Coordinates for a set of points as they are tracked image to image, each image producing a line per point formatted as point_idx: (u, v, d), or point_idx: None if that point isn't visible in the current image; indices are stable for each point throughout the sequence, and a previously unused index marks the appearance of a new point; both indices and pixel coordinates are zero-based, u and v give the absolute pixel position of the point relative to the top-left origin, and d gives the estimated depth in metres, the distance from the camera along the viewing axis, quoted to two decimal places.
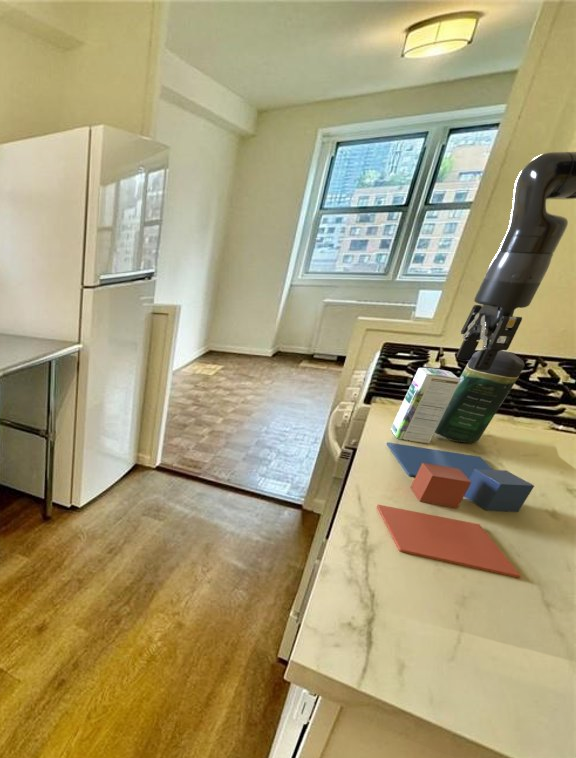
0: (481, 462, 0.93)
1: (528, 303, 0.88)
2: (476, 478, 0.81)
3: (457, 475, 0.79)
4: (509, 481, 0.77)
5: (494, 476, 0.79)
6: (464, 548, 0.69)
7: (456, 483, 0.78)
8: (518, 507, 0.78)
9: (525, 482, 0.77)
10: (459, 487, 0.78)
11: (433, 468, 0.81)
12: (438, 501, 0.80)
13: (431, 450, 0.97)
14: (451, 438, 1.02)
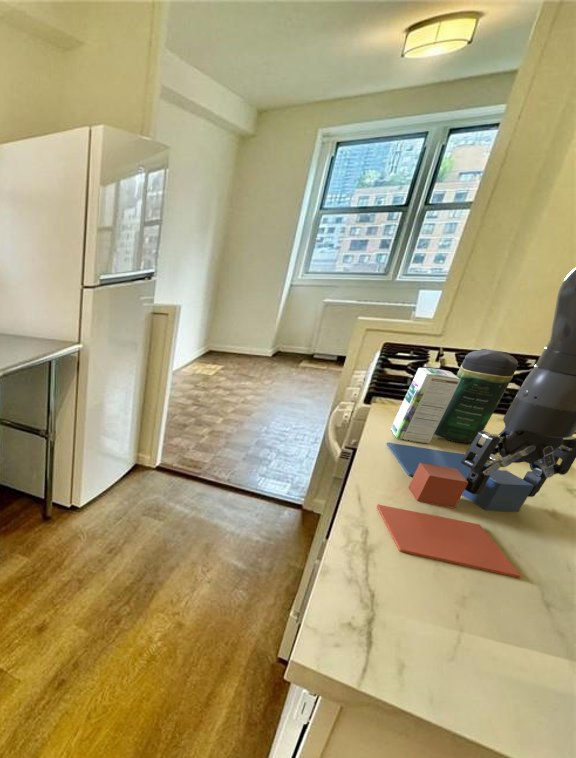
0: None
1: (540, 430, 0.71)
2: None
3: (454, 475, 0.79)
4: (509, 481, 0.77)
5: (494, 476, 0.79)
6: (464, 548, 0.69)
7: (453, 483, 0.78)
8: (518, 507, 0.78)
9: (525, 482, 0.77)
10: (456, 487, 0.78)
11: (431, 468, 0.81)
12: (435, 501, 0.80)
13: (431, 450, 0.97)
14: (450, 439, 1.02)
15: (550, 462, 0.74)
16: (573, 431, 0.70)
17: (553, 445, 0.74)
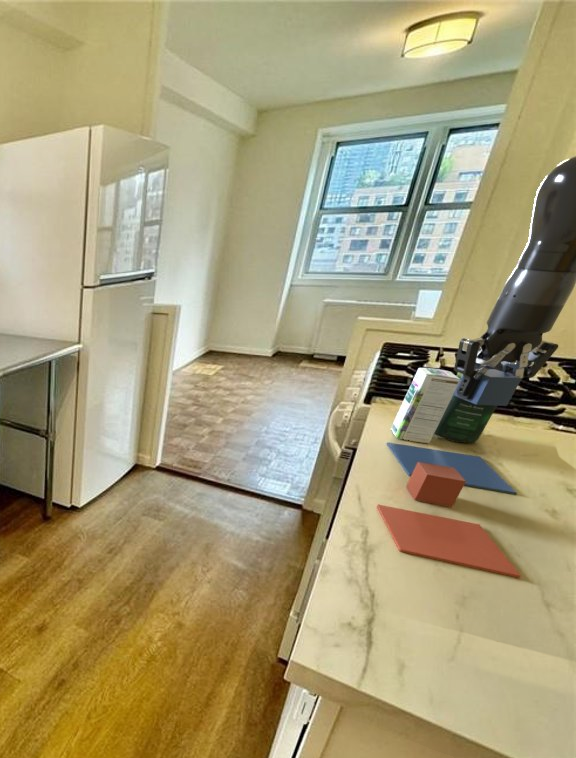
0: (481, 462, 0.93)
1: (518, 327, 0.77)
2: None
3: (452, 474, 0.79)
4: (498, 375, 0.82)
5: None
6: (464, 548, 0.69)
7: (450, 482, 0.78)
8: (506, 401, 0.83)
9: (513, 376, 0.82)
10: (454, 486, 0.78)
11: (428, 468, 0.81)
12: (433, 500, 0.80)
13: (431, 450, 0.97)
14: (450, 439, 1.02)
15: (524, 362, 0.80)
16: (550, 326, 0.76)
17: (533, 344, 0.80)
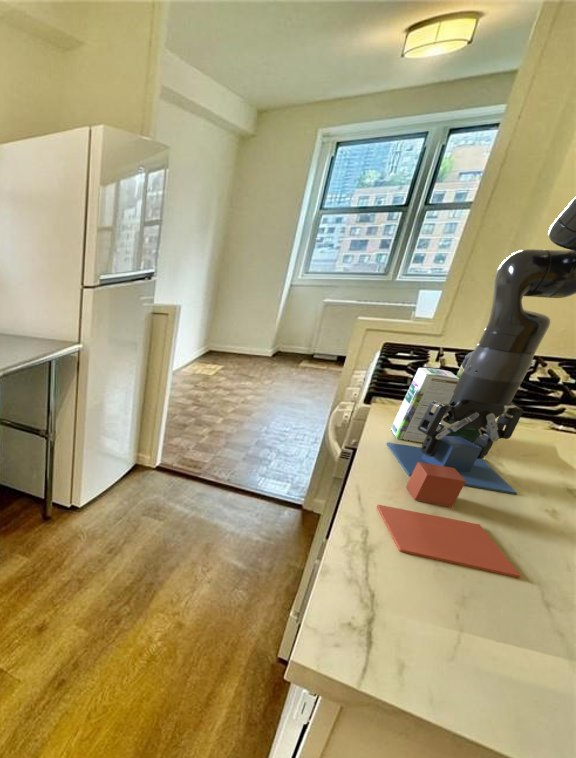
0: (481, 462, 0.93)
1: (480, 399, 0.83)
2: None
3: (452, 474, 0.79)
4: (461, 444, 0.88)
5: (448, 440, 0.90)
6: (464, 548, 0.69)
7: (450, 482, 0.78)
8: (469, 467, 0.89)
9: (474, 445, 0.88)
10: (454, 486, 0.78)
11: (428, 468, 0.81)
12: (433, 500, 0.80)
13: None
14: None
15: (494, 427, 0.86)
16: (509, 399, 0.82)
17: (496, 413, 0.86)
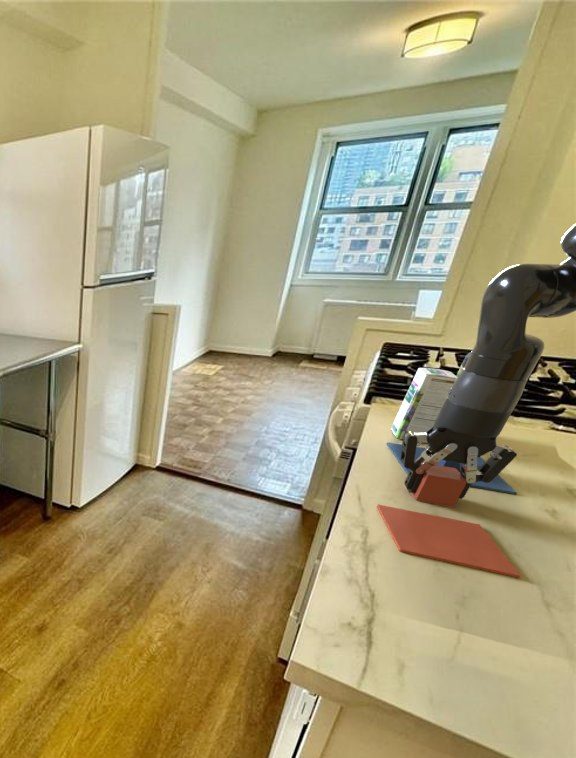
0: (481, 462, 0.93)
1: (454, 428, 0.75)
2: None
3: (453, 474, 0.79)
4: None
5: None
6: (464, 548, 0.69)
7: (452, 482, 0.78)
8: None
9: None
10: (455, 487, 0.78)
11: (430, 468, 0.81)
12: (434, 500, 0.80)
13: None
14: None
15: (473, 465, 0.77)
16: (490, 432, 0.73)
17: (483, 448, 0.76)
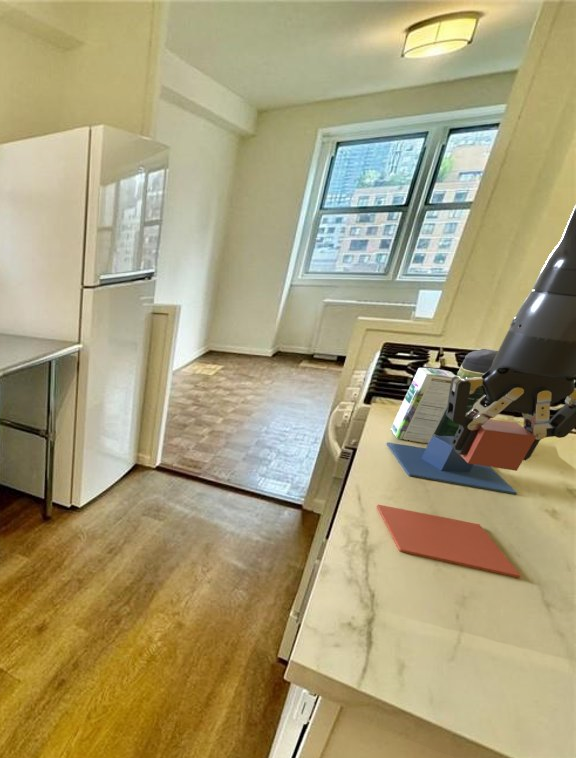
0: None
1: (521, 366, 0.59)
2: (433, 443, 0.92)
3: (516, 429, 0.63)
4: None
5: (448, 440, 0.90)
6: (464, 548, 0.69)
7: (516, 439, 0.62)
8: (469, 467, 0.89)
9: None
10: (520, 444, 0.62)
11: (485, 422, 0.65)
12: (492, 462, 0.64)
13: None
14: None
15: (543, 416, 0.60)
16: (570, 369, 0.56)
17: (558, 392, 0.59)
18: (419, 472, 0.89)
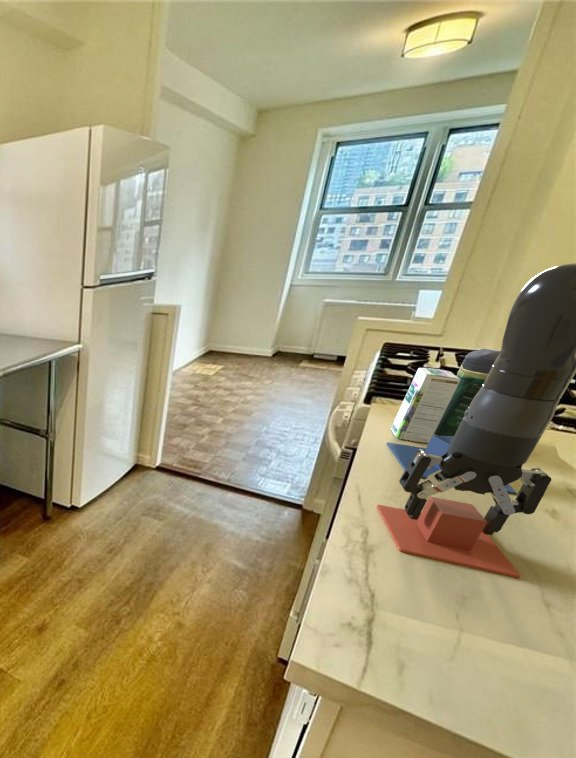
0: None
1: (473, 454, 0.64)
2: (433, 443, 0.92)
3: (470, 513, 0.68)
4: None
5: (448, 440, 0.90)
6: None
7: (469, 523, 0.67)
8: None
9: None
10: (473, 528, 0.67)
11: (443, 504, 0.70)
12: (448, 542, 0.69)
13: None
14: None
15: (503, 495, 0.65)
16: (515, 460, 0.62)
17: (507, 477, 0.65)
18: None
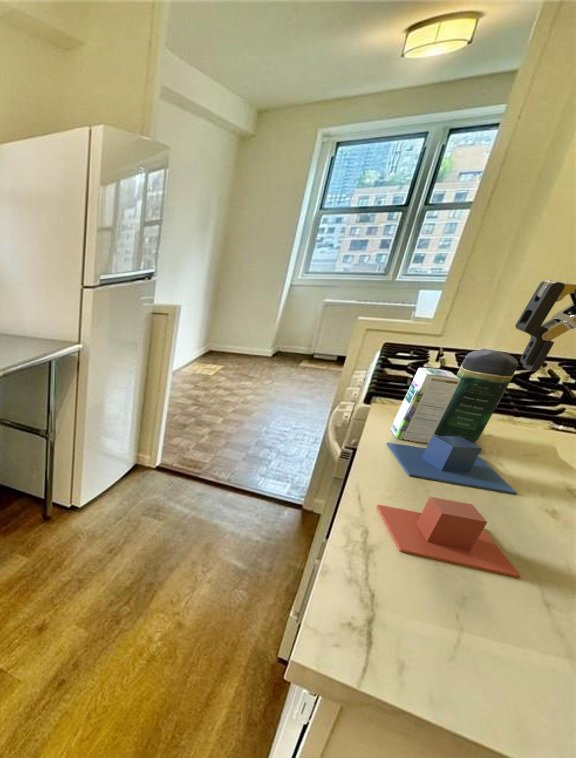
0: (481, 462, 0.93)
1: None
2: (433, 443, 0.92)
3: (470, 513, 0.68)
4: (461, 444, 0.88)
5: (448, 440, 0.90)
6: None
7: (469, 523, 0.67)
8: (469, 467, 0.89)
9: (474, 445, 0.88)
10: (473, 528, 0.67)
11: (443, 504, 0.70)
12: (448, 542, 0.69)
13: None
14: None
15: None
16: None
17: None
18: (419, 472, 0.89)
